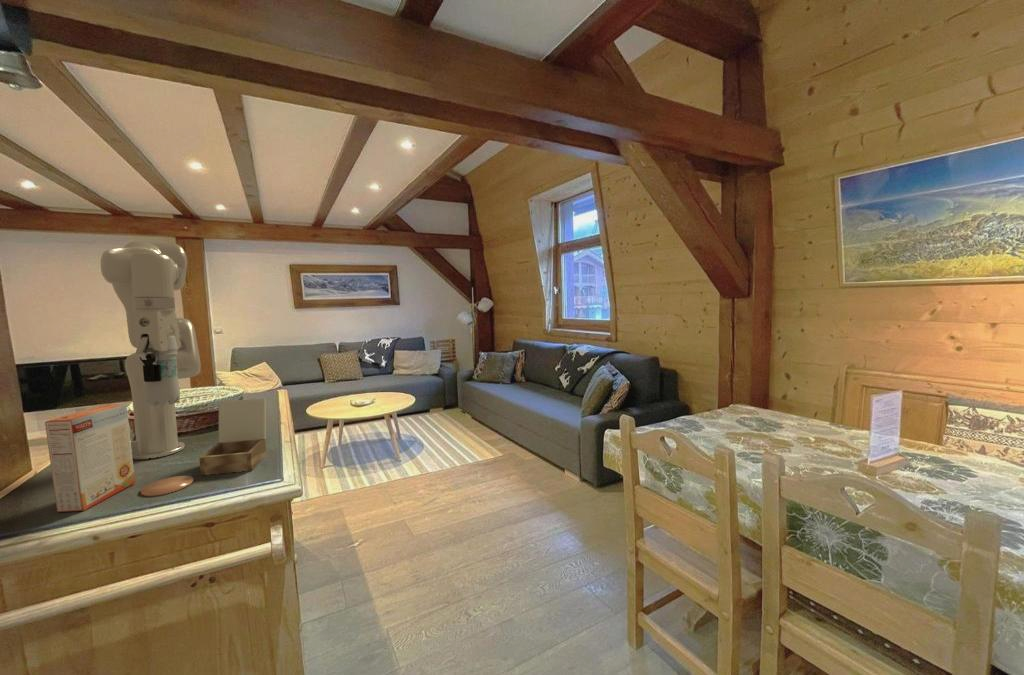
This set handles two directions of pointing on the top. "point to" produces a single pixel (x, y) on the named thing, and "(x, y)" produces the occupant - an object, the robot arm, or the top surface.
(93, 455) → the cracker box
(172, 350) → the bottle
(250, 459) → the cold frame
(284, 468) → the top surface
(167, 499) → the top surface
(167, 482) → the saucer
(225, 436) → the lid
